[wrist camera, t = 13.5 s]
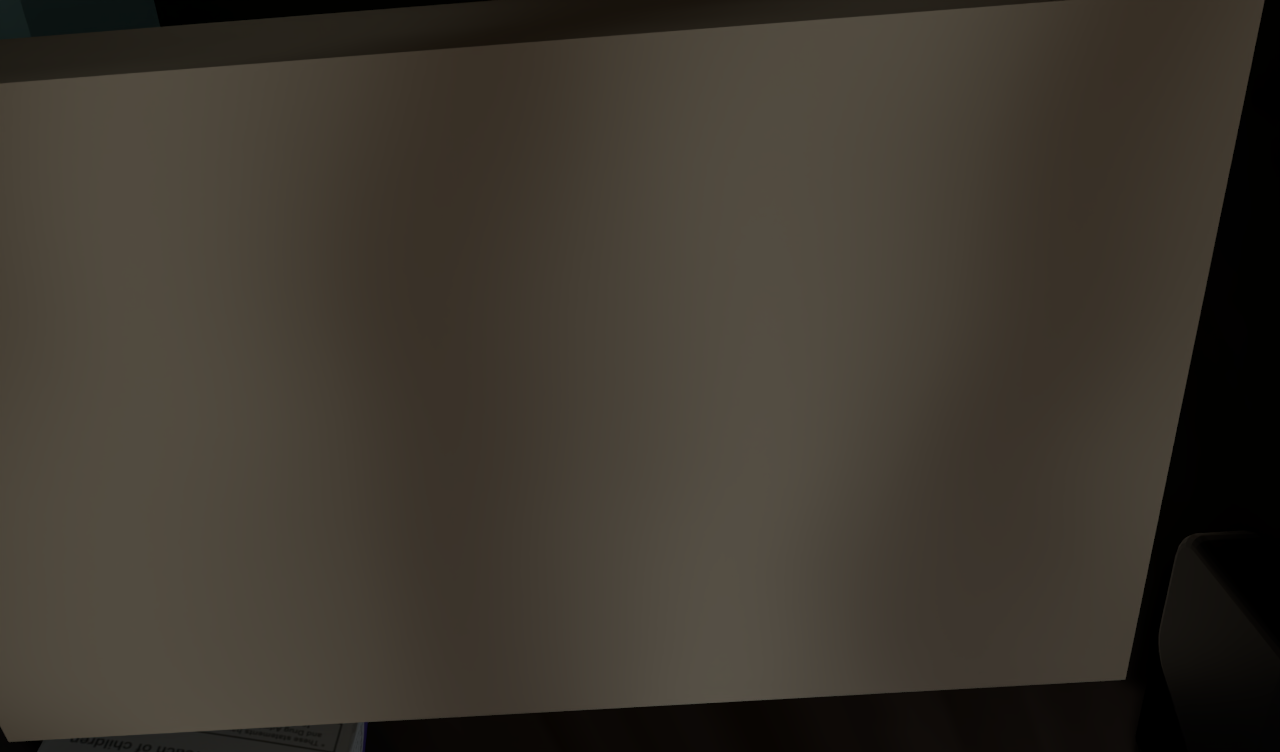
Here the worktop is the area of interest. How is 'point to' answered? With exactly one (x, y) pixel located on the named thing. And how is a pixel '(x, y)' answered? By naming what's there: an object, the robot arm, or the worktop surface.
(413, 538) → the oak plinth shelf
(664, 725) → the worktop surface
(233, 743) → the supplement box
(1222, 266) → the worktop surface
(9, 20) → the dark grey-teal rectangular block
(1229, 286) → the worktop surface
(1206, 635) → the robot arm
